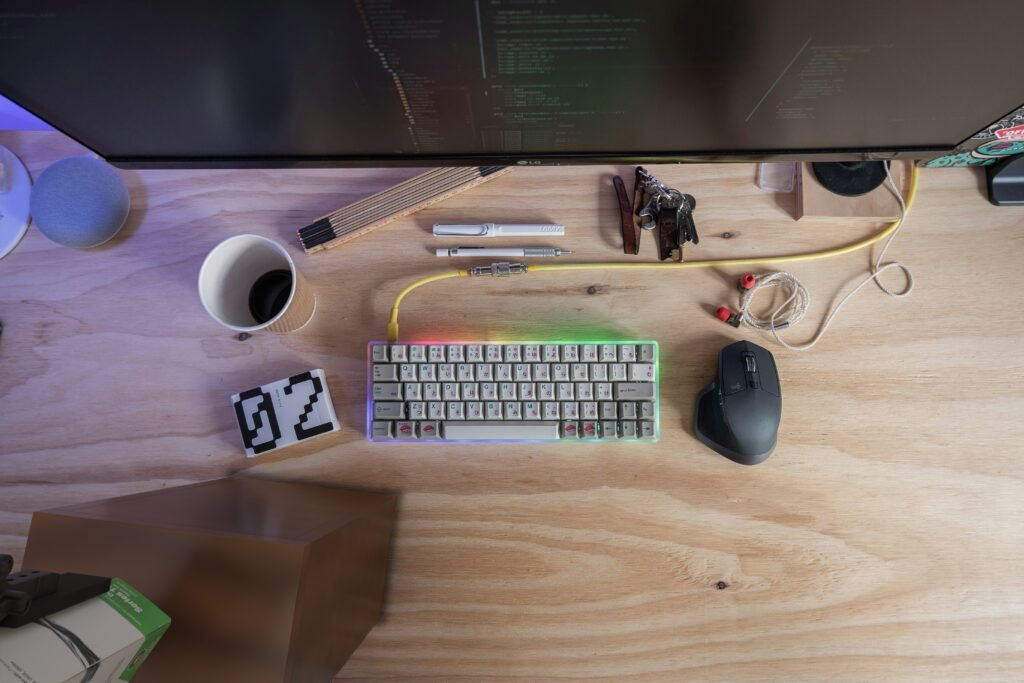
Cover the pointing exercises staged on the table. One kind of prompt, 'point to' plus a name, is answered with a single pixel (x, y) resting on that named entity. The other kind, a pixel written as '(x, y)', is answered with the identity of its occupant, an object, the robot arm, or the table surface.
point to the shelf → (190, 590)
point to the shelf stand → (299, 516)
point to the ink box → (85, 640)
